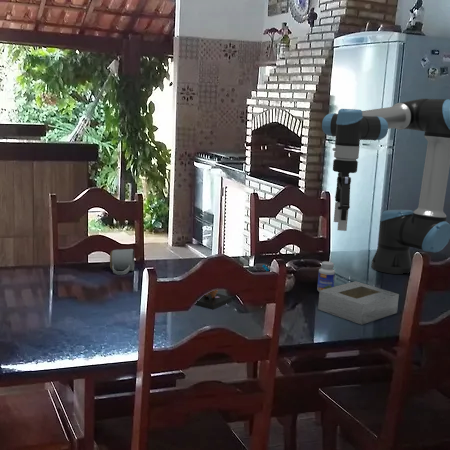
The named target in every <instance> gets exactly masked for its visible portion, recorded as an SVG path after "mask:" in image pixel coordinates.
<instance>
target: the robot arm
mask: <svg viewBox="0 0 450 450" xmlns="http://www.w3.org/2000/svg"><path fill="white" fill-rule="evenodd" d="M321 129H322V131H323V132H322V133H324V134H325V135H326V136H329V137H332V138H334V137H335V140H334V141H335V142H334V147H333V148H332V152H333V153H334V154H333V157H334V158H335V159H333V163H332V171H334V172H337V177H336V178H337V179H336V189H335V195H334V201H335V202H334V215H333V223H337V231H341V232H342V231H344V232H346V231H347V229H348V219H349V210H350V208H351V206H350V203H351V199H350V197H351V183H352V177H350V174H355V173H357V172H358V165H359V164H358V163H359V161H358V159H359V156H360V155H359V154H360V142H361V141H379V140H383V139H384V138H386V136H387V134H388V132H389V130H390V129H396V130H398V131H399V130H411V131H419V132H420V131H421V132H424V134H423V136H424V137H423V138H425V140H426V141H427V146H426V153H425V160H424V166H423V173H422V179H421V187H420V193H419V200H418V207H417V208H416V209H414V210H411V209H386V210H384V211H383V212H382V213H381V215H380V221H379V233H378V234H379V235H378V246H377V248H376V251H375V254H374V255H373V257H372V261H371V268H372V269H373V270H375V271H378V272H381V273H386V274H390V275H391V274H394V275H404V274H403V273H407V274H409V273H408V272H410V268H411V263H412V259H411V253H410V248H414V249H418V250H422V251H423V252H428V253H429V252H430V253H438V252H441V251H442V250H443V249H445V247H446V246H447V245H448V243H449V242H450V223H448V221H447V215H446V213H445V211H444V205H445V201H446V199H445V198H446V193H447V186H448V181H449V172H450V99H446V98H445V99H442V98H441V99H440V98H419V99H413V100H407V101H403V102H398V103H395V104H393V105H392V106H389V107H380V108H374V109H373V108H372V109H368V110H367V109H365V110H362V109H356V108H340V109H339V110H338V111H337V113H335V112H334V113H328V114H326V115H325V116H324V117H323V119H322V122H321ZM412 264H413V263H412Z"/></svg>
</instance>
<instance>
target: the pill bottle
mask: <svg viewBox="0 0 450 450" xmlns="http://www.w3.org/2000/svg"><path fill="white" fill-rule="evenodd" d="M320 265H321V268H319V269H318V277H317V286H316V287H317V289H316V290H317V291H318V292H320V290H324V289H327V288H331V287H335V279H336V278H335V277H336V270H335V269H333V268H334V267H335V266H334V265H335V263H334V262H332V261H321V264H320Z"/></svg>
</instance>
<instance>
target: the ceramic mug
mask: <svg viewBox="0 0 450 450" xmlns="http://www.w3.org/2000/svg"><path fill="white" fill-rule="evenodd" d="M109 267H110V269H111V270H112V272H113V274H114V275H117V276H124V275H126V274H128V273H129V272H133V271H134V270H135V250H134V249H133V248H130V249H129V248H128V249H113V250H111V251H110V254H109Z"/></svg>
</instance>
